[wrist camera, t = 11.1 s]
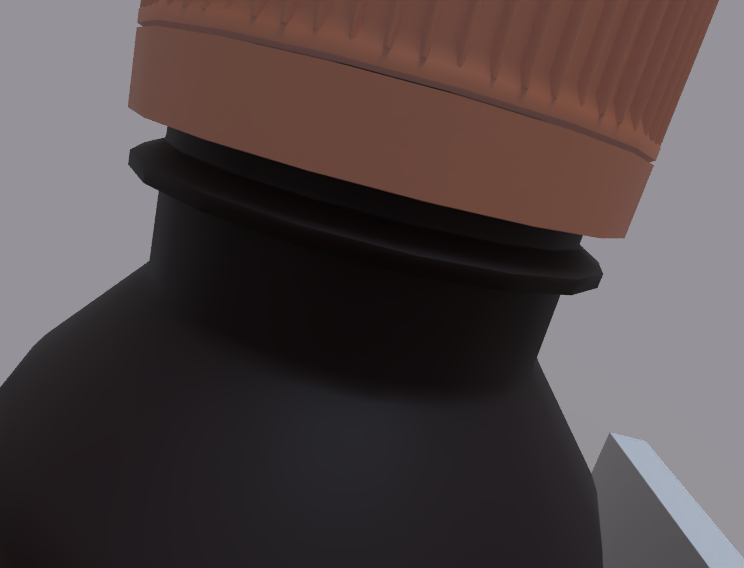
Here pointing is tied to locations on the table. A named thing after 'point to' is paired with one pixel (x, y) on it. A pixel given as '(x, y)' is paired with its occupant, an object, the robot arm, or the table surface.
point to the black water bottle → (346, 289)
